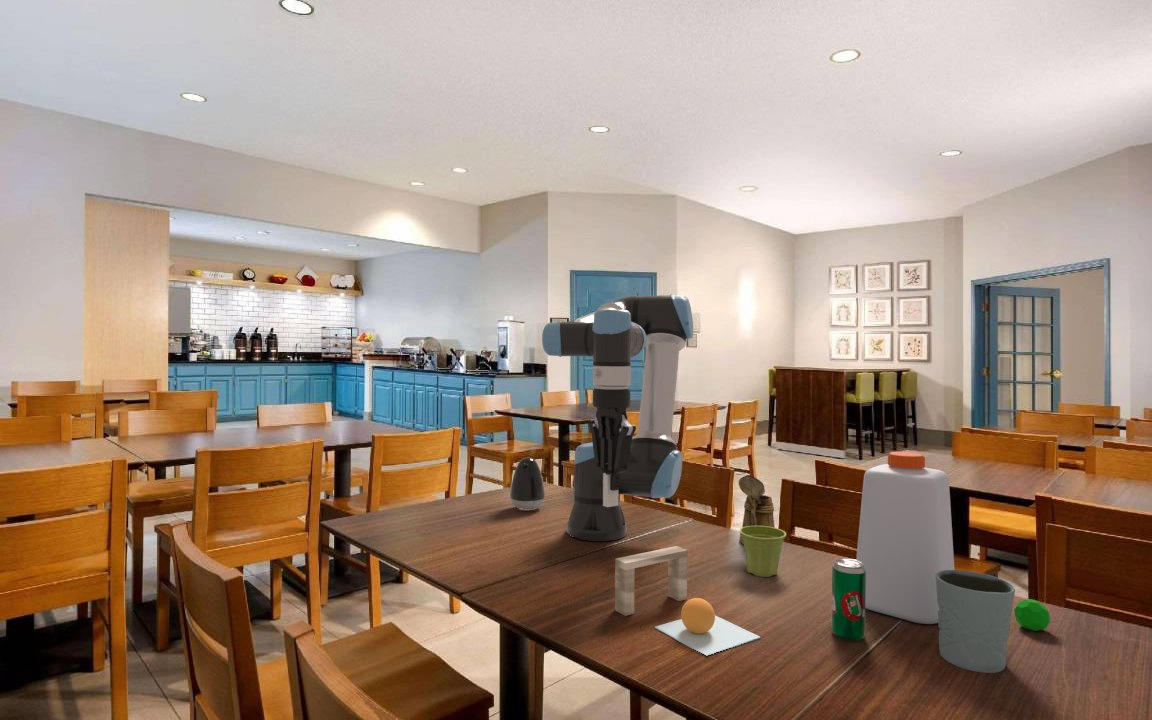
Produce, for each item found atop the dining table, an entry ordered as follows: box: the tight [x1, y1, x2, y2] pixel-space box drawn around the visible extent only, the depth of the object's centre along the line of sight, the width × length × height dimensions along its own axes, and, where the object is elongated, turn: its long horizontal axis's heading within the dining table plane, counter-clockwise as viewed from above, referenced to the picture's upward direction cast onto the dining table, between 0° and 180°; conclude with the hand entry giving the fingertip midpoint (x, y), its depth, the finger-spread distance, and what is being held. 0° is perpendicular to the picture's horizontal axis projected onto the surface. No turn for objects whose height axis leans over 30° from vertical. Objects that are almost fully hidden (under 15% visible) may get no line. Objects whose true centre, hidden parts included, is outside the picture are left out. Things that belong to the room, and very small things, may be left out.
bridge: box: [614, 545, 688, 617], centre depth 117 cm, size 3×14×9 cm, turn 123°
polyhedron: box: [1013, 598, 1051, 632], centre depth 108 cm, size 5×5×5 cm
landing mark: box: [654, 615, 761, 657], centre depth 105 cm, size 12×12×1 cm
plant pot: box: [739, 526, 787, 578], centre depth 135 cm, size 9×9×9 cm
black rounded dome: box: [509, 457, 546, 509], centre depth 187 cm, size 10×10×15 cm
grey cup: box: [936, 569, 1016, 674], centre depth 97 cm, size 10×10×12 cm
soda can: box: [830, 558, 866, 642], centre depth 105 cm, size 5×5×12 cm
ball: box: [680, 597, 716, 634], centre depth 105 cm, size 6×6×6 cm
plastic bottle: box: [855, 451, 955, 625], centre depth 117 cm, size 15×15×28 cm
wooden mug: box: [738, 474, 776, 545], centre depth 154 cm, size 9×14×18 cm, turn 148°
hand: (610, 505), depth 128 cm, fingers closed
